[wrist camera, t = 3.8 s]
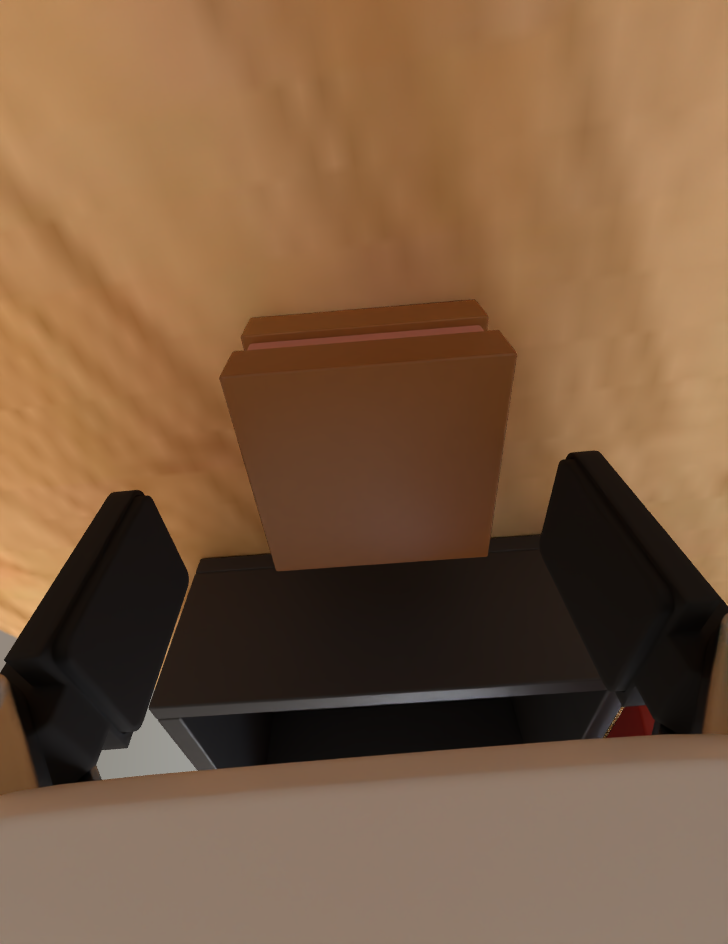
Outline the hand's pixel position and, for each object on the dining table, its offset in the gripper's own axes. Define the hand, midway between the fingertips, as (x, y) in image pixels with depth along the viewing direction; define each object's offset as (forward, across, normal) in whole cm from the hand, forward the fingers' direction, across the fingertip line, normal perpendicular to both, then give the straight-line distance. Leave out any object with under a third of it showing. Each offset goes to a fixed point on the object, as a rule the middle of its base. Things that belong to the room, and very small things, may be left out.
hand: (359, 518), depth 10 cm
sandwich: (+5, 0, 0) cm, 5 cm away
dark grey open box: (+5, -1, +14) cm, 15 cm away
